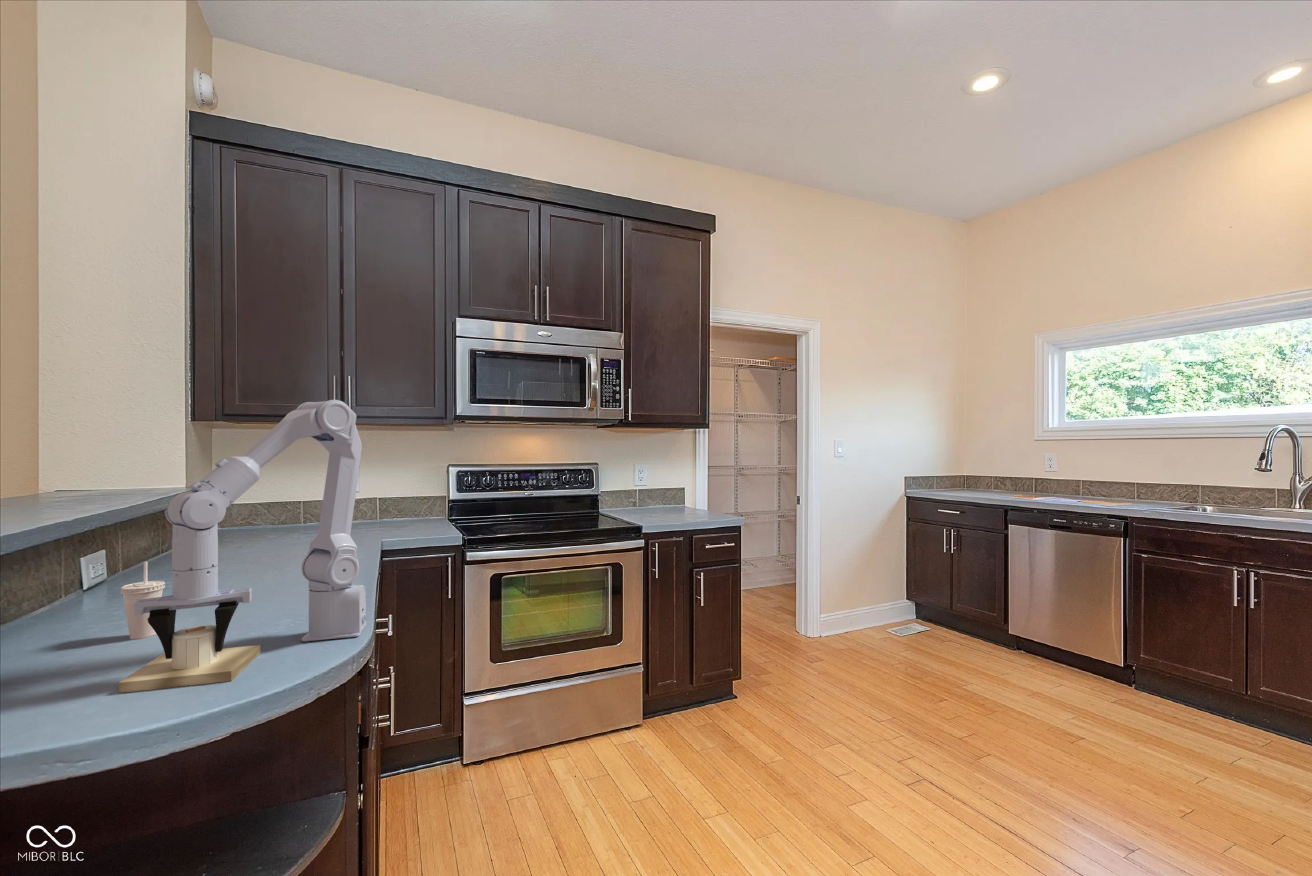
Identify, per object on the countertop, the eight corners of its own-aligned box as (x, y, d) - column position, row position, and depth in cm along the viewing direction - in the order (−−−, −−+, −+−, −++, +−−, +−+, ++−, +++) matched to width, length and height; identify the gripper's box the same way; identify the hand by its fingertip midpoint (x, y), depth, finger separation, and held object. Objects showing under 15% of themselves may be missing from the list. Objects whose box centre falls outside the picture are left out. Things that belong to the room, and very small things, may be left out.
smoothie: (138, 642, 106) (138, 565, 106) (110, 640, 107) (110, 564, 107) (174, 631, 112) (174, 558, 112) (147, 629, 113) (147, 557, 113)
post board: (260, 654, 99) (260, 624, 99) (231, 682, 88) (231, 647, 88) (162, 664, 95) (162, 632, 95) (118, 694, 84) (118, 658, 84)
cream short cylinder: (206, 653, 95) (206, 620, 95) (224, 659, 93) (224, 625, 93) (165, 665, 90) (165, 630, 91) (182, 671, 88) (182, 636, 88)
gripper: (254, 558, 99) (254, 638, 99) (144, 567, 92) (144, 653, 92) (248, 565, 92) (248, 651, 92) (129, 576, 86) (129, 668, 86)
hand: (195, 653), depth 92 cm, fingers closed on cream short cylinder, 5 cm apart
